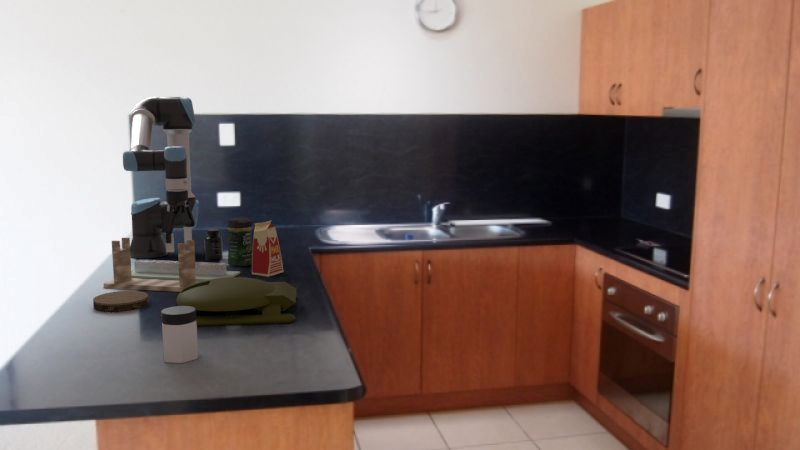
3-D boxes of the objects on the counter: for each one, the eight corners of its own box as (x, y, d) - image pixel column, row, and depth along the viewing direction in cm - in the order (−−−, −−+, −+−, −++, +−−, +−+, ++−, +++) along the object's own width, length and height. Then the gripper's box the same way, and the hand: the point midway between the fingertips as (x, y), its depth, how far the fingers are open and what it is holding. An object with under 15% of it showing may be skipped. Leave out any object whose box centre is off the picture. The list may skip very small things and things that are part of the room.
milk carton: (283, 271, 274) (282, 218, 271) (269, 276, 266) (267, 222, 263) (263, 269, 278) (262, 217, 275) (248, 274, 270) (247, 220, 266)
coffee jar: (239, 268, 280) (238, 220, 277) (224, 265, 284) (223, 218, 281) (257, 263, 288) (255, 216, 285) (242, 261, 292) (240, 215, 289)
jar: (186, 349, 185) (184, 303, 183) (206, 356, 180) (204, 309, 178) (154, 358, 178) (152, 310, 176) (174, 366, 173) (171, 317, 171)
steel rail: (135, 272, 269) (134, 261, 268) (140, 270, 273) (140, 259, 272) (222, 276, 262) (221, 265, 262) (226, 274, 266) (226, 263, 266)
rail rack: (103, 287, 249) (100, 241, 246) (118, 281, 258) (116, 236, 255) (194, 292, 243) (192, 244, 240) (206, 286, 251) (204, 240, 249)
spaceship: (297, 297, 238) (296, 268, 236) (295, 325, 208) (294, 291, 206) (186, 301, 234) (184, 270, 232) (168, 329, 204) (166, 294, 202)
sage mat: (119, 277, 264) (119, 274, 264) (140, 268, 278) (140, 266, 278) (224, 282, 257) (223, 280, 257) (240, 273, 271) (240, 271, 270)
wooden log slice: (90, 315, 217) (89, 305, 216) (96, 301, 232) (96, 292, 231) (147, 311, 221) (146, 301, 221) (150, 298, 236) (149, 289, 236)
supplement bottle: (225, 257, 300) (224, 228, 298) (219, 261, 293) (218, 231, 291) (208, 257, 300) (207, 228, 299) (202, 260, 294) (201, 231, 292)
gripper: (169, 194, 250) (172, 255, 254) (202, 185, 274) (204, 241, 278) (149, 194, 251) (152, 254, 255) (183, 185, 275) (186, 240, 279)
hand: (179, 248), depth 266 cm, fingers open, 13 cm apart
